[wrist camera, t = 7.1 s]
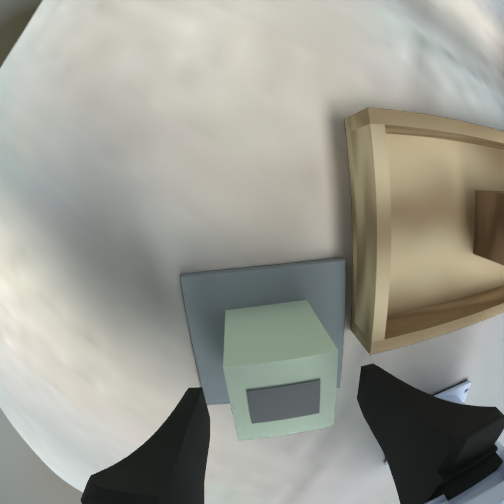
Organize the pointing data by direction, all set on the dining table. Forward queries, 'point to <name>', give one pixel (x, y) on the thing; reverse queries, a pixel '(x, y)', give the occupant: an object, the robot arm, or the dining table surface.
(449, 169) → the oak tray
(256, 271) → the rubber pad
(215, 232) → the dining table surface
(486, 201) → the walnut block
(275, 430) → the sage block
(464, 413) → the robot arm
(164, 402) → the dining table surface
